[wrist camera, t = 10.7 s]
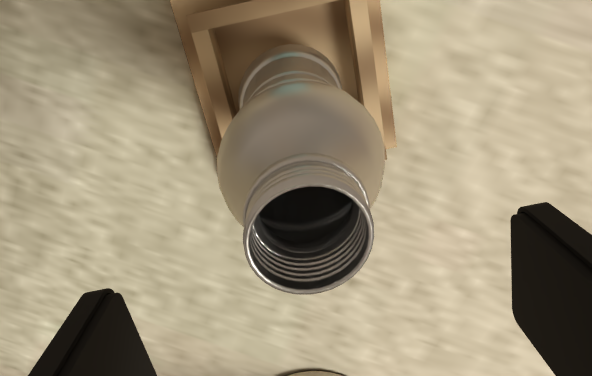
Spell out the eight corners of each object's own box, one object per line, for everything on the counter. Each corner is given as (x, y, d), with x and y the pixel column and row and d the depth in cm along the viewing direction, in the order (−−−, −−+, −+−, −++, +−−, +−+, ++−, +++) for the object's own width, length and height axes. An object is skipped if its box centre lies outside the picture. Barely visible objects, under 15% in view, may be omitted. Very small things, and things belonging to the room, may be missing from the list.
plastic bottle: (221, 93, 30) (137, 253, 12) (288, 16, 28) (309, 67, 10) (290, 153, 32) (307, 368, 14) (357, 85, 30) (477, 231, 12)
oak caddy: (392, 141, 33) (405, 159, 30) (225, 175, 34) (220, 196, 31) (356, -164, 26) (368, -187, 22) (140, -112, 26) (120, -127, 23)
